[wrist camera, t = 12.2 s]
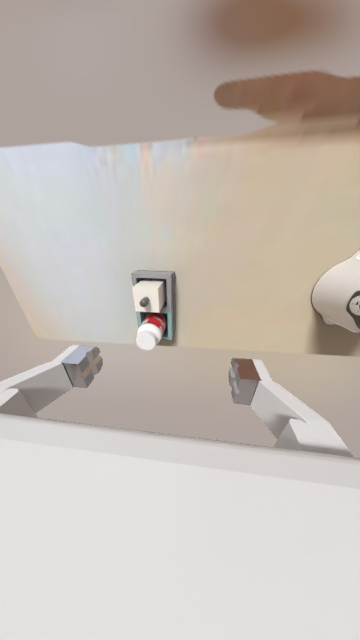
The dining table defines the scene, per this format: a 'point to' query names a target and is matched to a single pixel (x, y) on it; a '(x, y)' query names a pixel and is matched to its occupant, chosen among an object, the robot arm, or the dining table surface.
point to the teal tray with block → (155, 297)
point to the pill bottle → (151, 331)
